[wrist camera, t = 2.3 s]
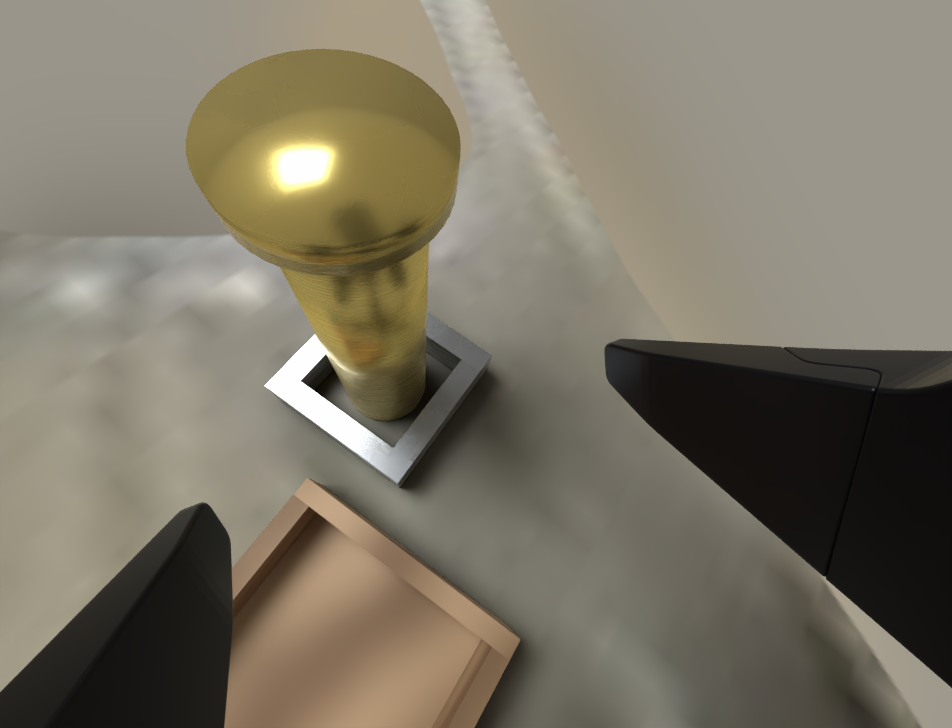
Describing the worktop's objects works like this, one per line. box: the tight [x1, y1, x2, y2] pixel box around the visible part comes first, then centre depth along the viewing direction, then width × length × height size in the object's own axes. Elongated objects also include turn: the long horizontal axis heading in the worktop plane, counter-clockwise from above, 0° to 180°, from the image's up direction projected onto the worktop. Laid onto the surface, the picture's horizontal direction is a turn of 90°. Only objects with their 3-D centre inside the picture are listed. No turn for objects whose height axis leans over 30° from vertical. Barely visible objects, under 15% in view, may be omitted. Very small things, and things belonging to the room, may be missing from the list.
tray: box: [224, 478, 521, 728], centre depth 16 cm, size 10×10×3 cm
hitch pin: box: [186, 49, 460, 421], centre depth 15 cm, size 5×5×15 cm
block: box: [265, 312, 492, 488], centre depth 21 cm, size 8×8×2 cm
